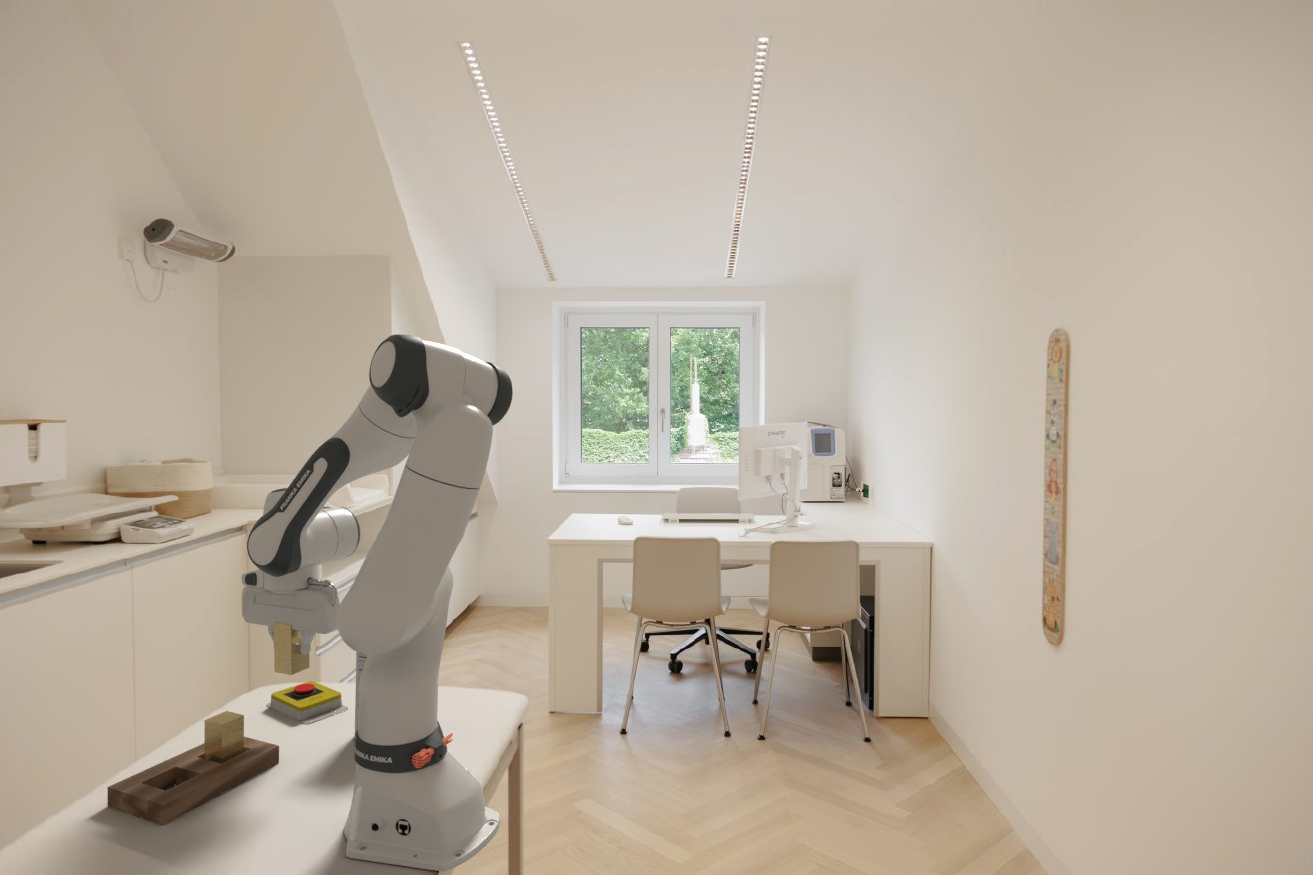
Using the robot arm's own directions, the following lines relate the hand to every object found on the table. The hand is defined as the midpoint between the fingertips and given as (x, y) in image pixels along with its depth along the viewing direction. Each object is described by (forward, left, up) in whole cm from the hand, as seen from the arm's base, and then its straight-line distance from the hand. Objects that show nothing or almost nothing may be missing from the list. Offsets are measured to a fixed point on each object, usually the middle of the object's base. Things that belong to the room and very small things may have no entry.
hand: (292, 651), depth 130 cm
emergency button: (+9, -12, -17) cm, 23 cm away
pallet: (+1, +17, -17) cm, 24 cm away
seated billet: (+1, +12, -17) cm, 21 cm away
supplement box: (-13, -11, -17) cm, 24 cm away
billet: (0, 0, -3) cm, 3 cm away
